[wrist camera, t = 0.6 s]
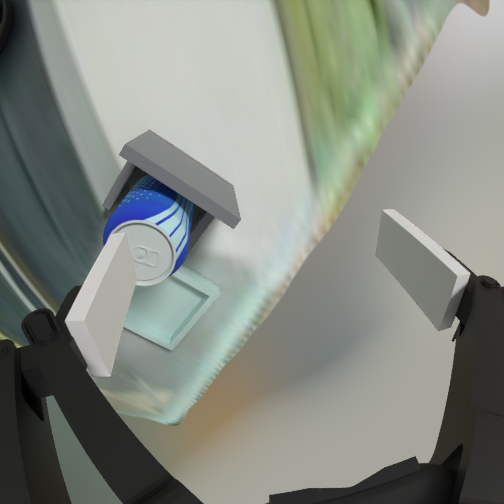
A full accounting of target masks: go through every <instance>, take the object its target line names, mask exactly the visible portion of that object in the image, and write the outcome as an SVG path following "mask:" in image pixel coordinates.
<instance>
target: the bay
mask: <svg viewBox="0 0 504 504" xmlns="http://www.w3.org/2000/svg"><path fill="white" fill-rule="evenodd" d="M119 155H120V156H121V157H123V158H124V159H126V160H128V161H127V163H126V164H125V166H124V168H123V169H122V171H121V173H120V174H119V176H118V178H117V180H116V181H115V183H114V185H113V187H112V188H111V190H110V192H109V194H108V196H107V197H106V199H105V201H104V203H103V205H102V206H103V207H105V208H106V209H108V210H110V209H111V208H112V207H113V205H114V204H115V202H116V201H117V199H118V197H119V195H120V194H121V192H122V190H123V188H124V187H125V185H126V183H127V182H128V180H129V178H130V177H131V175H132V173H133V172H134V170H135V169H136V167H138V168H140V169H142V170H143V171H145V172H146V173H148V174H149V175H151V176H153V177H154V178H156V179H157V180H159V181H160V182H162V183H163V184H165V185H166V186H168V187H170V188H171V189H173V190H174V191H176V192H177V193H179V194H180V195H182V196H184V197H185V198H187V199H188V200H190V201H191V202H193V203H194V204H196V205H197V206H199V207H201V208H202V209H204V210H203V212H202V213H201V214H200V216H199V217H198V218H197V220H196V221H195V223H194V224H193V225H192V227H191V229H190V236H189V244H188V250H187V253H188V252H189V251H190V249H191V248H192V247H193V245H194V244H195V243H196V241H197V240H198V239H199V237H200V236H201V234H202V233H203V232H204V230H205V229H206V228H207V226H208V225H209V224H210V222H211V221H212V220H213V218H214V217H216V218H217V219H219V220H221V221H222V222H224V223H225V224H227V225H228V226H230V227H231V228H233V229H234V228H235V226H236V225H237V224H238V223H239V221H240V220H241V218H240V213H239V209H238V205H237V200H236V196H235V191H234V187H233V185H232V184H230V183H229V182H227V181H226V180H224V179H223V178H222V177H220V176H219V175H217V174H216V173H214V172H213V171H211V170H210V169H208V168H207V167H205V166H204V165H202V164H201V163H199V162H198V161H196V160H195V159H193V158H192V157H190V156H189V155H187V154H186V153H184V152H183V151H181V150H180V149H178V148H177V147H175V146H174V145H172V144H171V143H169V142H168V141H166V140H165V139H163V138H162V137H160V136H159V135H157V134H155V133H154V132H152V131H151V130H148V131H147V132H145V133H143V134H141V135H140V136H138V137H136V138H135V139H133V140H131V141H129V142H128V143H126V144H125V145H124V147H123V149H122V150H121V152H120V154H119Z"/></svg>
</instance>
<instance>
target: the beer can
mask: <svg viewBox="0 0 504 504" xmlns="http://www.w3.org/2000/svg"><path fill="white" fill-rule="evenodd" d="M193 209H194V203H193V202H191V201H190V200H188V199H187V198H185V197H184V196H182V195H180V194H179V193H177V192H176V191H174V190H173V189H171V188H170V187H168V186H166V185H165V184H163V183H162V182H160V181H159V180H157V179H156V178H154V177H153V176H151V175H149V174H146V175H144V176H143V177H141V178H140V179H139V180H138V182H137V183H136V184H135V185H134V186H133V188H132V189H131V190H130V192H129V193H128V194H127V195H126V197H125V198H124V199H123V201H122V202H121V203H120V204H119V206H118V207H117V208H116V210H115V211H114V212H113V214H112V215H111V216H110V218H109V219H108V221H107V223H106V226H105V229H104V234H103V243H104V246H105V244H106V243H107V241H108V239H109V238H110V236H111V234H115V233H123V232H126V235H127V239H128V244H129V248H130V252H131V256H132V261H133V265H134V269H135V272H136V276H137V282H136V286H152V285H156V284H158V283H160V282H162V281H164V280H165V279H166V278H167V277H169V276H171V275H172V274H174V273H175V272H176V271H177V270H178V269H179V268H180V267H181V265H182V264H183V262H184V260H185V257H186V255H187V250H188V244H189V236H190V229H191V222H192V215H193Z"/></svg>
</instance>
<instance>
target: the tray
mask: <svg viewBox="0 0 504 504" xmlns="http://www.w3.org/2000/svg"><path fill="white" fill-rule="evenodd" d="M218 296H219V285H217V284H216V283H214V282H212V281H210V280H209V279H207V278H205V277H203V276H202V275H200V274H198V273H197V272H195V271H193V270H191V269H190V268H188V267H186V266H184V265H183V264H182V265H181V267H180V268H179V269H178V270H177V271H176V272H175V273H174V274H172V275H171V276H169V277H167V278H166V279H165V280H164V281H162V282H160V283H158V284H156V285H152V286H135V289H134V292H133V295H132V299H131V302H130V305H129V309H128V312H127V316H126V319H125V323H124V326H123V327H125V328H127V329H129V330H131V331H133V332H135V333H137V334H139V335H141V336H143V337H145V338H147V339H149V340H151V341H153V342H155V343H157V344H159V345H161V346H163V347H165V348H167V349H169V350H171V351H172V350H173V349H174V348H175V347H176V346H177V344H178V343H179V342H180V341H181V340H182V338H183V337H184V336H185V335H186V334H187V332H188V331H189V330H190V329H191V328H192V327H193V325H194V324H195V323H196V322H197V321H198V319H199V318H200V317H201V316H202V315H203V313H204V312H205V311H206V310H207V309H208V308H209V306H210V305H211V304H212V303H213V302H214V300H215V299H216V298H217V297H218Z"/></svg>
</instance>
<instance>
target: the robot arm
mask: <svg viewBox="0 0 504 504" xmlns="http://www.w3.org/2000/svg"><path fill="white" fill-rule="evenodd" d="M12 21H13V5H12V2H11V0H0V53H1V51H2V49H3V47H4V45H5V43H6V41H7V39H8V36H9V33H10V30H11V26H12ZM376 256H377V258H378V259H379V260H380V261H381V262H382V263H383V264H384V265H385V267H386V268H387V269H388V270H389V271H390V272H391V274H392V275H393V276H394V277H395V278H396V279H397V280H398V282H399V283H400V284H401V285H402V287H403V288H404V289H405V290H406V291H407V293H408V294H409V295H410V296H411V297H412V299H413V300H414V301H415V302H416V304H417V305H418V306H419V307H420V309H421V310H422V311H423V312H424V314H425V315H426V316H427V317H428V319H429V320H430V321H431V322H432V324H433V325H434V326H435V327H436V329H437V330H438V331H440V330H444V329H447V328H450V327H451V326H452V324H453V321H454V319H455V316H456V317H457V318H458V319H459V320H460V323H459V325H458V327H457V330H456V332H455V334H454V337H453V339H452V341H454V340H455V339H456V346H455V353H454V361H453V368H452V374H451V380H450V387H449V392H448V397H447V402H446V407H445V411H444V416H443V421H442V425H441V429H440V433H439V437H438V441H437V444H436V448H435V451H434V454H433V456H432V458H431V460H430V462H429V463H420V464H419V463H418V461H417V459H416V457H412V458H409V459H407V460H404V461H402V462H399V463H396V464H393V465H391V466H388V467H385V468H383V469H381V470H380V471H378V472H377V473H375V474H373V475H372V476H370V477H368V478H367V479H365V480H363V481H361V482H360V483H358V484H356V485H354V486H352V487H348V488H308V489H303V490H297V491H292V492H286V493H280V494H274V495H269V503H266V504H504V287H501V286H500V284H499V283H498V282H497V281H496V280H495V279H493V278H490V277H489V276H483V275H482V276H478V277H477V276H476V275H475V274H474V273H473V272H472V271H471V270H470V269H469V268H467V267H466V266H465V265H464V264H463V263H462V262H461V261H460V260H458V259H457V258H456V257H455V256H453V254H451V253H450V252H448V251H447V250H445V249H443V248H441V247H440V246H439V245H438V244H436V243H435V242H434V241H433V240H432V239H431V238H429V237H428V236H427V235H426V234H424V233H423V232H422V231H421V230H419V229H418V228H417V227H416V226H415V225H413V224H412V223H411V222H409V221H408V220H407V219H406V218H404V217H403V216H402V215H400V214H399V213H398V212H396V211H395V210H394V209H390V210H382V212H381V221H380V228H379V235H378V243H377V249H376ZM136 282H137V276H136V272H135V269H134V265H133V261H132V256H131V252H130V248H129V244H128V239H127V235H126V232H123V233H115V234H111V236H110V238H109V239H108V241H107V243H106V244H105V246H104V248H103V249H102V251H101V253H100V255H99V256H98V258H97V260H96V262H95V264H94V265H93V267H92V269H91V271H90V273H89V275H88V276H87V278H86V280H85V282H84V284H83V285H82V286H75V287H74V288H73V289H72V290H71V291H70V292H69V293H68V294H67V296H66V297H65V299H64V302H63V303H62V305H61V307H60V309H59V310H58V312H57V314H56V316H54V314H53V312H52V311H51V310H50V309H46V308H43V309H38V310H35V311H33V312H31V313H30V314H28V315H27V316H26V317H25V318H24V320H23V322H22V324H21V328H22V330H23V332H24V334H25V336H26V338H27V339H28V341H29V343H30V345H28V346H24V347H20V348H16V346H15V344H14V342H12V341H11V340H9V339H4V340H1V341H0V504H72V503H71V501H70V498H69V495H68V491H67V488H66V485H65V482H64V478H63V476H62V471H61V468H60V464H59V460H58V456H57V452H56V448H55V444H54V440H53V435H52V430H51V426H50V420H49V415H48V409H47V403H46V397H47V396H51V395H54V397H55V399H56V401H57V403H58V405H59V407H60V409H61V411H62V412H63V414H64V416H65V418H66V419H67V422H68V423H69V425H70V427H71V429H72V430H73V432H74V434H75V435H76V437H77V439H78V440H79V442H80V443H81V445H82V447H83V448H84V450H85V452H86V453H87V455H88V456H89V458H90V459H91V461H92V462H93V464H94V465H95V467H96V468H97V470H98V471H99V472H100V474H101V475H102V477H103V478H104V479H105V481H106V482H107V483H108V485H109V486H110V488H111V489H112V490H113V492H114V493H115V494H116V496H117V497H118V498H119V499H120V501H121V502H122V503H123V504H203V503H202V502H201V501H200V500H199V499H198V498H197V497H196V496H195V495H194V494H193V493H191V492H190V491H189V490H188V489H187V488H186V487H185V486H184V485H183V484H182V483H181V482H179V481H178V480H177V479H175V478H174V477H173V476H171V475H170V473H169V472H168V471H167V470H165V468H164V467H163V466H162V465H161V464H160V463H159V462H158V461H157V460H156V459H155V458H154V457H153V455H152V454H151V453H150V452H149V451H148V450H147V449H146V448H145V447H144V446H143V444H142V443H141V442H140V441H139V440H138V438H137V437H136V436H135V435H134V434H133V433H132V431H131V430H130V429H129V428H128V426H127V425H126V424H125V423H124V421H123V420H122V419H121V418H120V416H119V415H118V414H117V413H116V411H115V410H114V409H113V407H112V406H111V405H110V403H109V402H108V401H107V399H106V398H105V397H104V395H103V394H102V393H101V391H100V390H99V388H98V387H97V386H96V384H95V383H94V381H93V380H92V378H91V377H90V375H89V374H88V372H87V371H86V369H87V367H88V369H89V370H90V372H91V374H92V376H101V377H111V373H112V369H113V365H114V361H115V357H116V353H117V349H118V345H119V341H120V337H121V334H122V330H123V326H124V323H125V319H126V316H127V312H128V309H129V305H130V302H131V299H132V295H133V292H134V289H135V286H136Z"/></svg>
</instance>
